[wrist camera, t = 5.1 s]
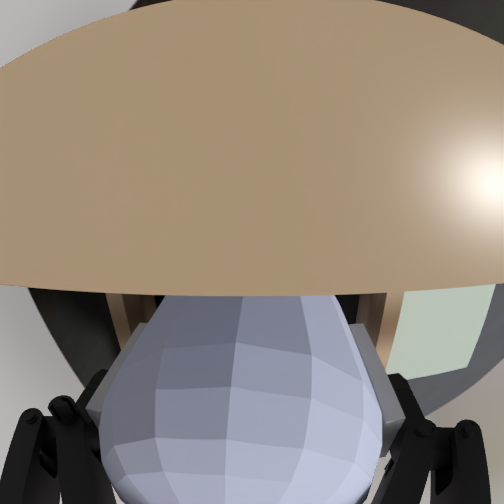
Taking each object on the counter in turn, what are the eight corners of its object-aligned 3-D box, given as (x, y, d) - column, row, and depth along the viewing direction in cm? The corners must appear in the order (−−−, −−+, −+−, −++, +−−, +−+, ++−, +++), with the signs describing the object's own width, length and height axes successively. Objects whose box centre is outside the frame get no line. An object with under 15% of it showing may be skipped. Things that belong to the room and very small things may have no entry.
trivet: (388, 259, 21) (392, 263, 20) (496, 256, 20) (501, 260, 19) (364, 379, 25) (366, 385, 24) (463, 362, 24) (466, 367, 23)
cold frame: (123, 161, 19) (-2, 186, 8) (385, 154, 18) (502, 171, 7) (159, 373, 26) (116, 475, 14) (358, 374, 24) (391, 482, 13)
